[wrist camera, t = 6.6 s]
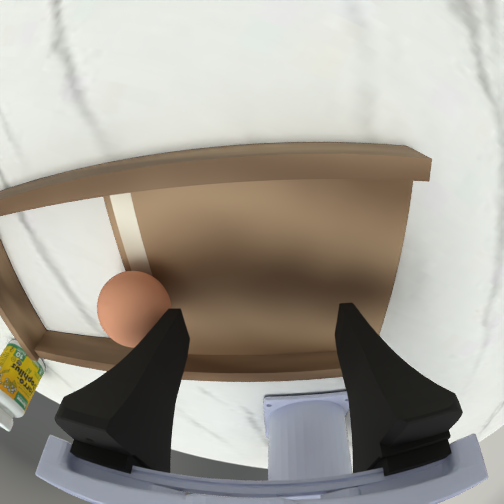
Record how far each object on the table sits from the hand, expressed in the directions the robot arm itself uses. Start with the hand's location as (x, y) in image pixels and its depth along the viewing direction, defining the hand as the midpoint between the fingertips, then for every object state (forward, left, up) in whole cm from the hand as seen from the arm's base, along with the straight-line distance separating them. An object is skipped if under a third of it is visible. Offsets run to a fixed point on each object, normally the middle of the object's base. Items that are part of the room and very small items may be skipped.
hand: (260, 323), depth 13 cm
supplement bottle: (-11, +27, -4) cm, 29 cm away
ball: (0, +7, -1) cm, 7 cm away
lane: (0, +7, -4) cm, 8 cm away
